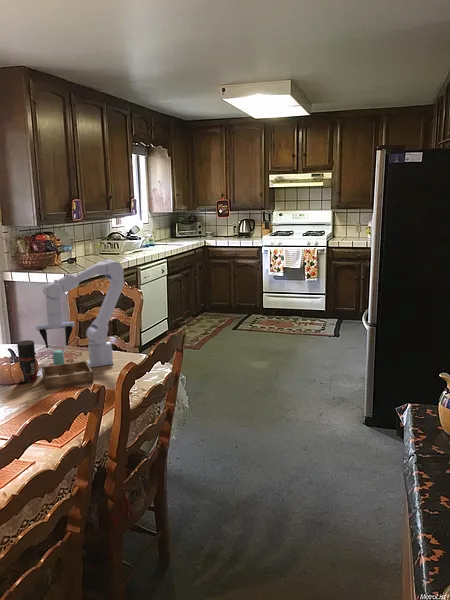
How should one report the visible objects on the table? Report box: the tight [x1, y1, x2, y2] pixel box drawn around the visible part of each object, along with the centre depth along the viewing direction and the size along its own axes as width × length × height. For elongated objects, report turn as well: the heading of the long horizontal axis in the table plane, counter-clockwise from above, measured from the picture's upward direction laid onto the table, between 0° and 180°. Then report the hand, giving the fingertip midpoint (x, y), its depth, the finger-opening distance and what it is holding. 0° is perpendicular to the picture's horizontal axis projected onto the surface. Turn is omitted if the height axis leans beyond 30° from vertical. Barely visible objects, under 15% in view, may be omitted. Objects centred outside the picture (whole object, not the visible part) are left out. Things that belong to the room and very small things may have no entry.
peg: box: [52, 349, 65, 365], centre depth 212 cm, size 4×4×8 cm
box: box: [41, 360, 94, 391], centre depth 201 cm, size 17×14×4 cm
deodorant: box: [16, 339, 38, 384], centre depth 200 cm, size 6×6×15 cm
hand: (57, 346), depth 210 cm, fingers open, 7 cm apart
